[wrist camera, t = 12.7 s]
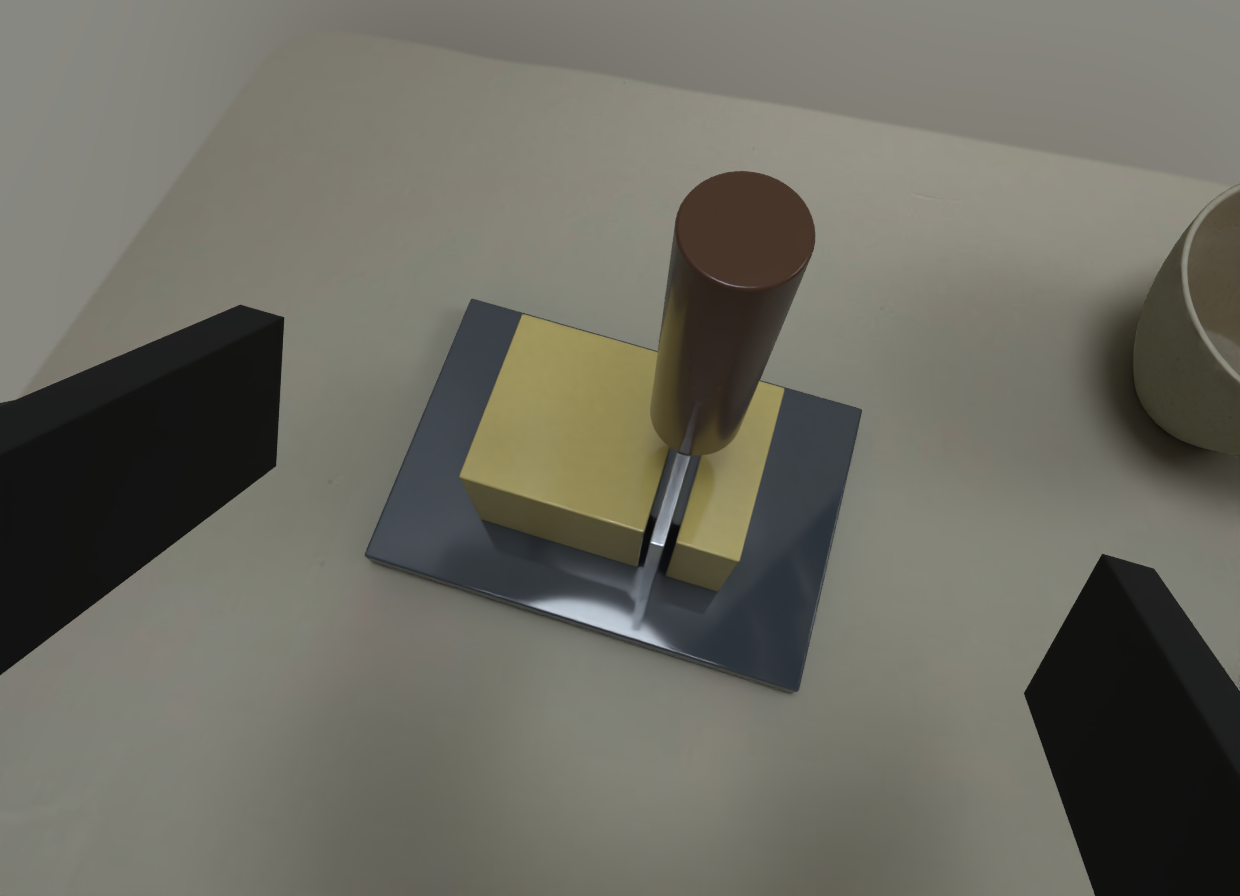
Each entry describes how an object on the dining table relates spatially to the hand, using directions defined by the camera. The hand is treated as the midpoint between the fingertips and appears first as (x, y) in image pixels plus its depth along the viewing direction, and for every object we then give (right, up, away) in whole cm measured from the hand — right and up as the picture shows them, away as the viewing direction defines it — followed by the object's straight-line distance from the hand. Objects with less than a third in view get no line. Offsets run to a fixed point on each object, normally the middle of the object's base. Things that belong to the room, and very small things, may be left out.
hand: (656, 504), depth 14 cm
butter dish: (-1, -1, +19) cm, 19 cm away
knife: (+1, -1, +18) cm, 18 cm away
